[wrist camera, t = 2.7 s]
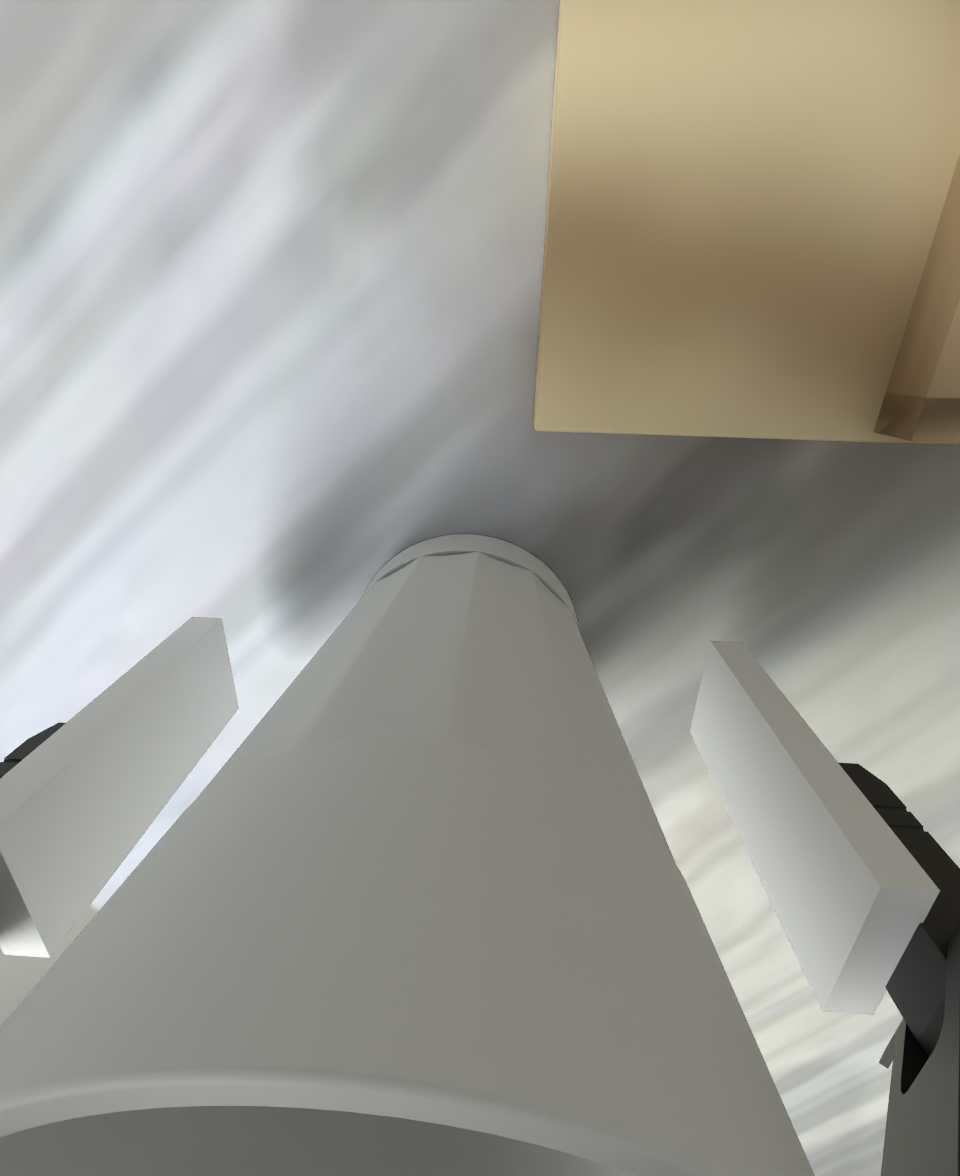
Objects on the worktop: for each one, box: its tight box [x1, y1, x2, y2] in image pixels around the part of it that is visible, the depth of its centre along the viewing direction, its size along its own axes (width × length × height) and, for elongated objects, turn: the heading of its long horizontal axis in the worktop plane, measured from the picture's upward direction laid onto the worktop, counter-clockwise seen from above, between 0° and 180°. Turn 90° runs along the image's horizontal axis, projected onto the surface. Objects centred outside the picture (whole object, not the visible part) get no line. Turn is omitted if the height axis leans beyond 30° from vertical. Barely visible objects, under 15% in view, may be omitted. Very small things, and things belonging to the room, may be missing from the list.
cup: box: [0, 534, 815, 1176], centre depth 10 cm, size 8×8×12 cm
